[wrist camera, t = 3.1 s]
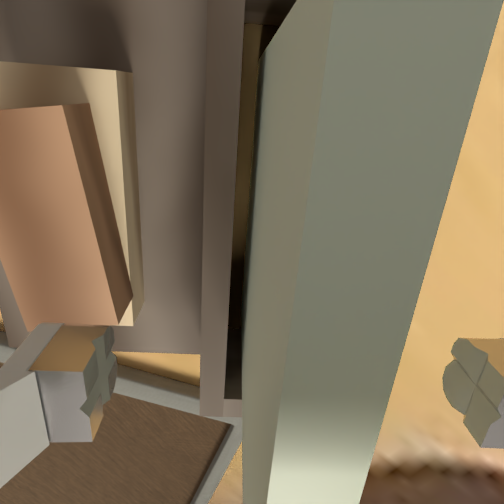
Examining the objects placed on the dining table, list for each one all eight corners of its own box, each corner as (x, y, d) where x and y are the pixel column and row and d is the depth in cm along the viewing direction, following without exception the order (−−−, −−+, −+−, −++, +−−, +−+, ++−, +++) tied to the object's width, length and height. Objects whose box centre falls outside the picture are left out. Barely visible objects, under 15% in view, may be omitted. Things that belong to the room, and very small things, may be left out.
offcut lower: (132, 73, 17) (115, 70, 15) (144, 301, 22) (133, 326, 19) (18, 64, 17) (-17, 60, 14) (56, 297, 21) (34, 322, 19)
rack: (341, 0, 17) (390, -42, 11) (292, 346, 25) (308, 419, 19) (-61, -37, 16) (-218, -103, 10) (20, 335, 24) (-47, 409, 18)
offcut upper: (89, 103, 15) (62, 105, 13) (133, 295, 19) (118, 324, 16) (-10, 110, 15) (-55, 113, 13) (53, 301, 19) (27, 331, 16)
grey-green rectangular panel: (291, 63, 18) (519, -56, 3) (266, 309, 24) (310, 671, 9) (258, 60, 18) (344, -74, 3) (241, 308, 23) (243, 672, 9)
